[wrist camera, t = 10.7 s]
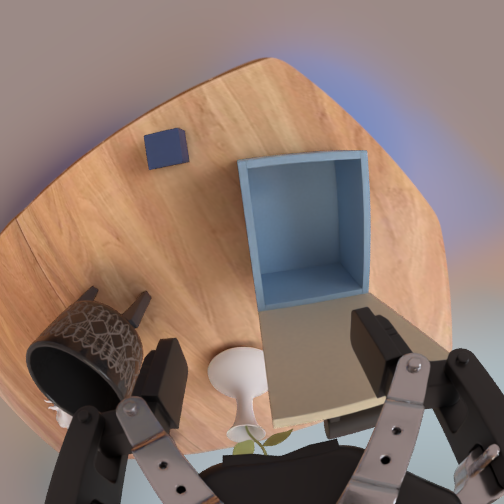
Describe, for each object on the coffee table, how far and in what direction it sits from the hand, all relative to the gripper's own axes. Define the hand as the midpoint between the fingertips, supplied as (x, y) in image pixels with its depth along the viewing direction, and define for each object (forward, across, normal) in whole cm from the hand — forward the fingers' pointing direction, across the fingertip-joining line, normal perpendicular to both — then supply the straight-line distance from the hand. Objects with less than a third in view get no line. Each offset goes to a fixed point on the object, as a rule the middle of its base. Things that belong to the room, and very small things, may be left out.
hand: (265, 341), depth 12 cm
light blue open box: (+24, -6, +1) cm, 25 cm away
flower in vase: (+24, +4, +24) cm, 34 cm away
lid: (+7, -6, +7) cm, 11 cm away
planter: (+24, +21, +10) cm, 34 cm away
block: (+24, +8, -10) cm, 27 cm away
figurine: (+24, +50, +34) cm, 65 cm away
